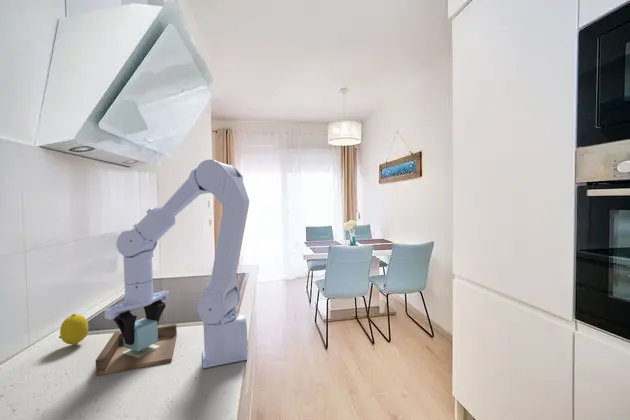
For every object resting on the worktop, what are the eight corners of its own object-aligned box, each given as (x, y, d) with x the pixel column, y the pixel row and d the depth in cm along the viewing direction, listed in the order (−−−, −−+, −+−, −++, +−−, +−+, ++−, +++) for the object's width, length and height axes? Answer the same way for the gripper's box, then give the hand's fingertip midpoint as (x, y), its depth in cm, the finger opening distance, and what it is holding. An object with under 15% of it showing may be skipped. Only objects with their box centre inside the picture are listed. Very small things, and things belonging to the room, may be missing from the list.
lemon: (59, 346, 75) (57, 314, 74) (86, 338, 79) (85, 308, 78) (62, 353, 71) (61, 320, 71) (91, 344, 75) (89, 313, 75)
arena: (176, 335, 79) (176, 323, 79) (171, 361, 66) (170, 347, 66) (115, 345, 74) (114, 332, 74) (96, 375, 61) (95, 360, 61)
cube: (144, 338, 74) (143, 318, 73) (158, 341, 71) (157, 321, 71) (123, 347, 69) (123, 325, 69) (138, 351, 67) (137, 329, 67)
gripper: (155, 272, 78) (157, 323, 78) (94, 287, 65) (97, 349, 65) (174, 274, 75) (176, 328, 76) (115, 291, 62) (118, 355, 62)
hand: (141, 338), depth 70 cm, fingers closed on cube, 5 cm apart
